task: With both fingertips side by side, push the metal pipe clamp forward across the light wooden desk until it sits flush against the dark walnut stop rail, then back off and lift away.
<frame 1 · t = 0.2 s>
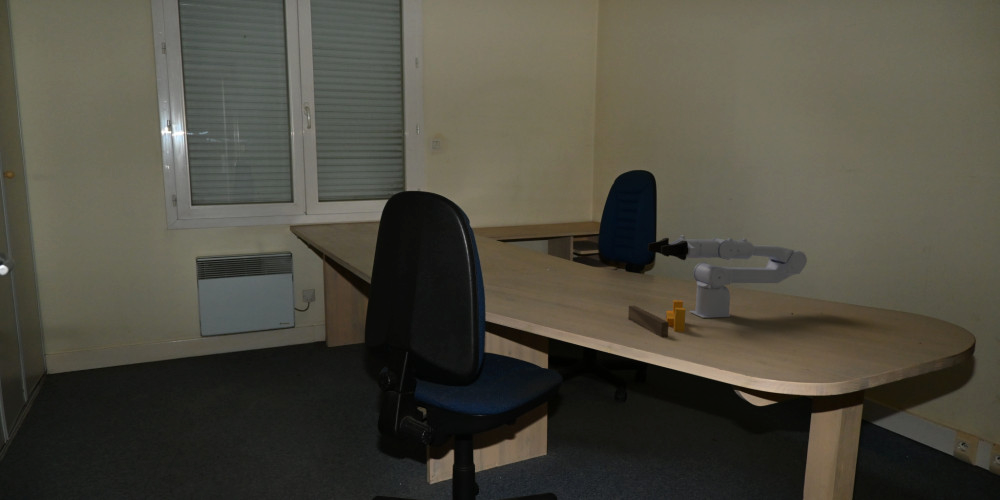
hand: (654, 248, 196), 21 cm above the table, tool horizontal, fingers open, 7 cm apart
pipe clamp: (674, 327, 191), on the table
stop rail: (647, 327, 188), on the table
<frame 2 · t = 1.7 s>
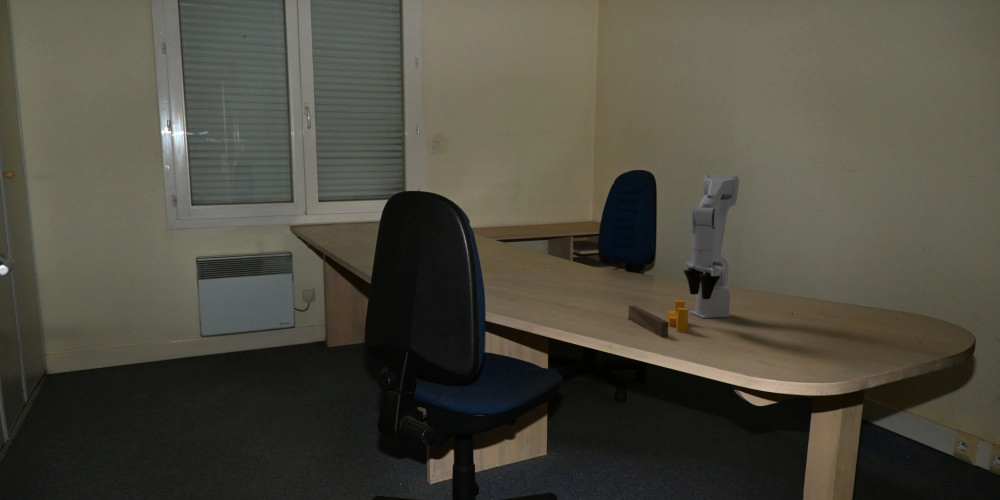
hand: (700, 296, 191), 8 cm above the table, tool pointing down, fingers open, 6 cm apart
nothing on the table moved.
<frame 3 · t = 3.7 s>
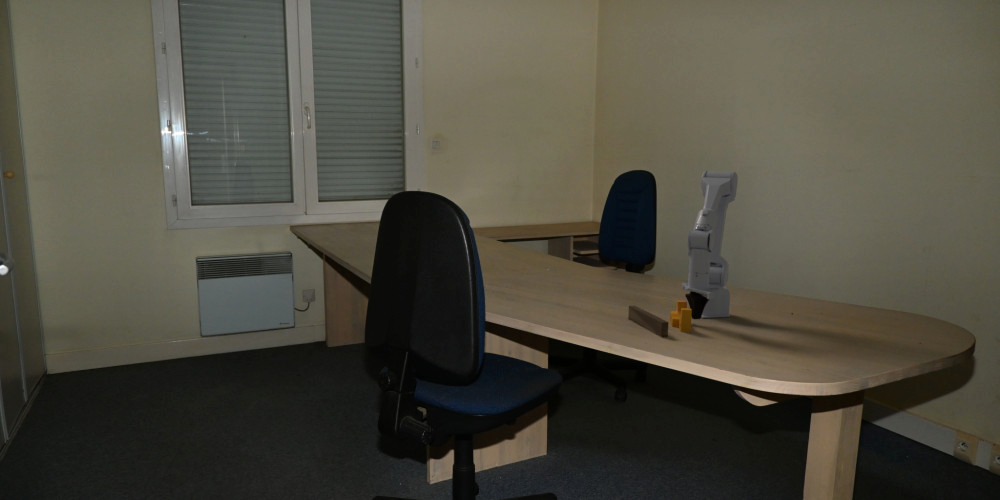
hand: (696, 318, 191), 2 cm above the table, tool pointing down, fingers closed
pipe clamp: (679, 327, 190), on the table, touching gripper
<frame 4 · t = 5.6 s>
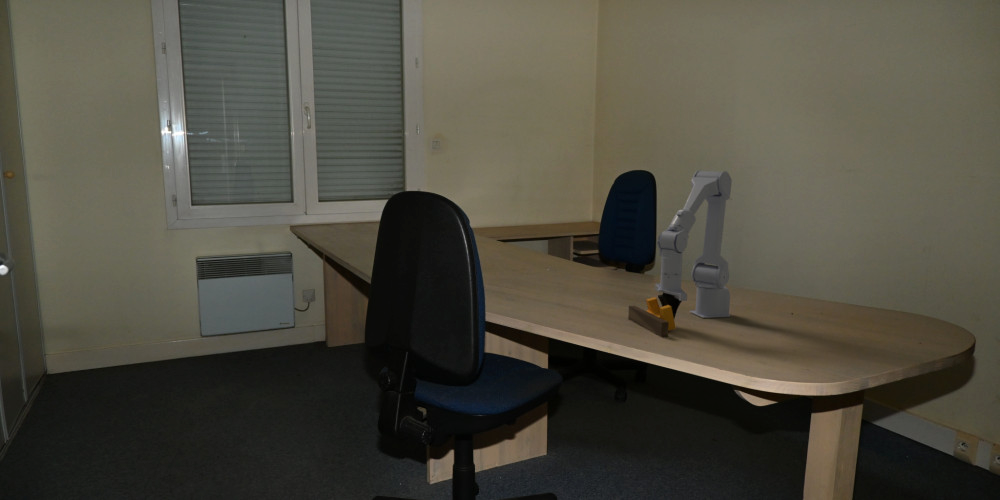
hand: (669, 320, 190), 2 cm above the table, tool pointing down, fingers closed, pressing on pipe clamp
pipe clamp: (660, 325, 189), on the table, touching gripper, stop rail
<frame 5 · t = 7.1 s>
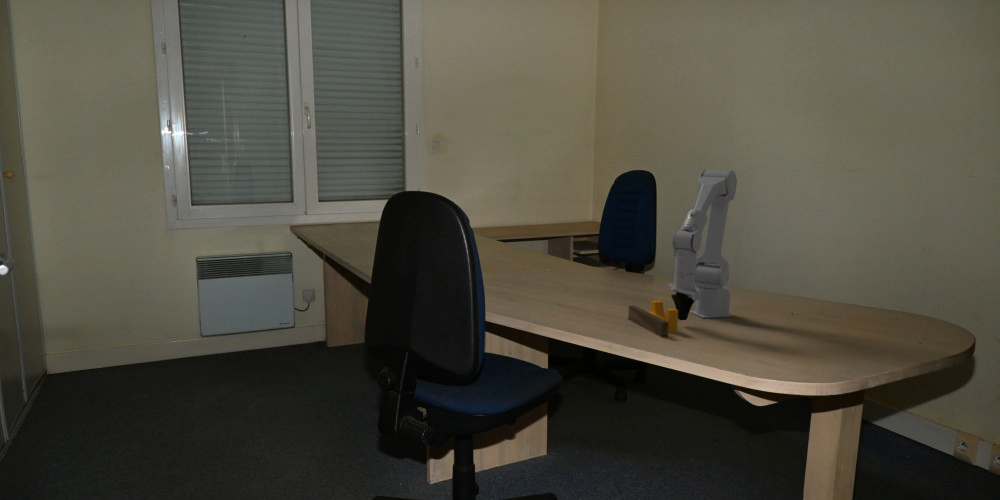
hand: (682, 319, 190), 2 cm above the table, tool pointing down, fingers closed
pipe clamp: (660, 328, 189), on the table
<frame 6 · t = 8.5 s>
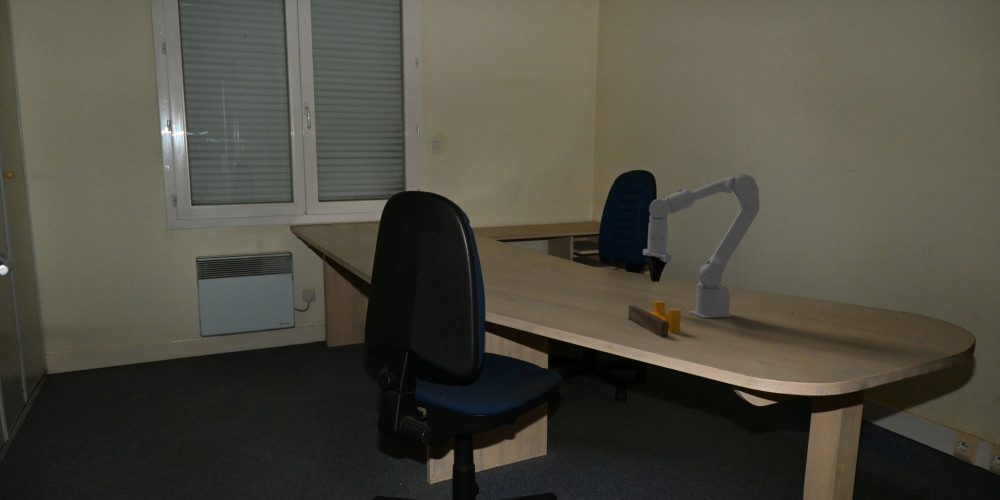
hand: (655, 281, 207), 9 cm above the table, tool pointing down, fingers closed
nothing on the table moved.
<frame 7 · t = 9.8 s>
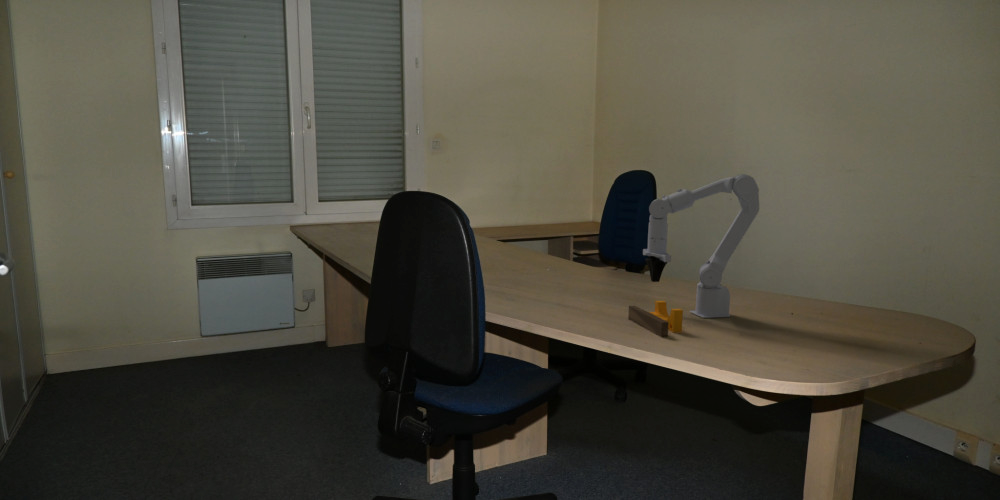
hand: (655, 281, 207), 9 cm above the table, tool pointing down, fingers closed
at the end: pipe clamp inside the target area (1.0 cm from its centre), on the table; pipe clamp tilted 0°; the gripper is holding nothing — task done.
